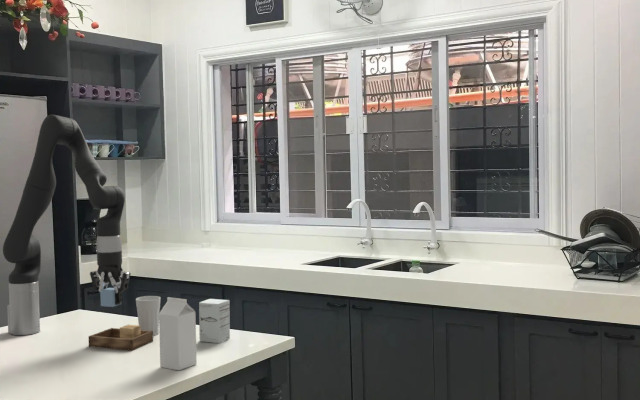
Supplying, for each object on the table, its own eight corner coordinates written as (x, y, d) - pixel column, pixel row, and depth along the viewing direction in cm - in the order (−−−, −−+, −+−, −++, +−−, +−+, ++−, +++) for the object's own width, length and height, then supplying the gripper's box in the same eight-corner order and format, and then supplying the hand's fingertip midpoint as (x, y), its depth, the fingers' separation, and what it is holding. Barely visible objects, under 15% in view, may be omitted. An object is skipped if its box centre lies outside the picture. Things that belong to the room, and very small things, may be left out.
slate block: (109, 303, 226) (109, 287, 226) (121, 303, 225) (121, 288, 224) (100, 306, 222) (100, 290, 222) (113, 306, 220) (112, 290, 220)
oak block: (128, 340, 224) (128, 324, 224) (140, 341, 223) (140, 325, 222) (120, 343, 220) (119, 327, 220) (132, 344, 218) (132, 328, 218)
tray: (88, 346, 220) (88, 336, 220) (111, 338, 231) (111, 327, 230) (131, 350, 214) (131, 339, 214) (153, 341, 225) (152, 331, 225)
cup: (164, 331, 239) (163, 296, 238) (156, 337, 231) (155, 300, 230) (141, 331, 240) (140, 295, 239) (133, 336, 232) (132, 300, 231)
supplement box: (198, 342, 224) (197, 302, 223) (210, 336, 231) (210, 298, 230) (219, 343, 221) (218, 303, 221) (230, 338, 228) (230, 299, 228)
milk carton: (179, 371, 193) (177, 301, 192) (160, 367, 196) (158, 299, 195) (196, 364, 199) (195, 297, 198) (178, 361, 202) (176, 295, 201)
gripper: (135, 249, 223) (137, 302, 224) (97, 248, 228) (99, 300, 229) (121, 251, 216) (123, 307, 217) (82, 250, 221) (84, 305, 222)
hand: (111, 303), depth 223 cm, fingers closed on slate block, 4 cm apart
